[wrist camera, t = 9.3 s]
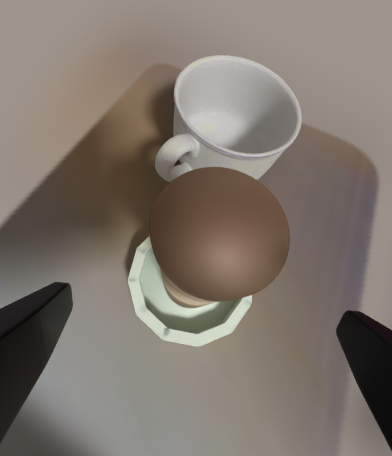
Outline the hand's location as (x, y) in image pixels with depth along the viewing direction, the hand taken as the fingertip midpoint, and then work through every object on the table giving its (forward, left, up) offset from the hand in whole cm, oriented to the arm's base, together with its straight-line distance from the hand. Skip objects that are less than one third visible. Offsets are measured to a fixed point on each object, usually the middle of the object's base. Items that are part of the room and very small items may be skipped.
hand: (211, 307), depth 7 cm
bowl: (+3, -1, -13) cm, 13 cm away
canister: (+2, -1, -12) cm, 12 cm away
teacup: (+14, -7, -13) cm, 20 cm away
